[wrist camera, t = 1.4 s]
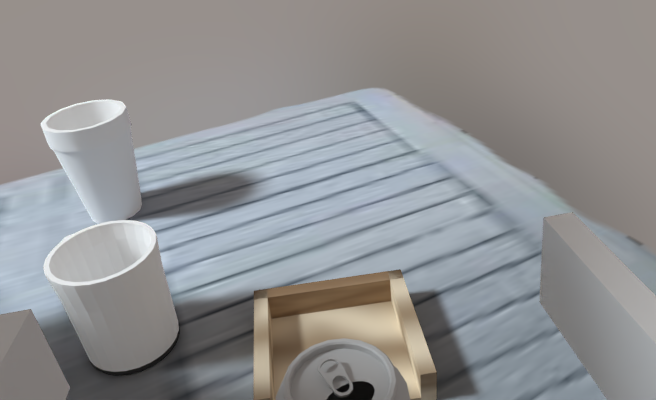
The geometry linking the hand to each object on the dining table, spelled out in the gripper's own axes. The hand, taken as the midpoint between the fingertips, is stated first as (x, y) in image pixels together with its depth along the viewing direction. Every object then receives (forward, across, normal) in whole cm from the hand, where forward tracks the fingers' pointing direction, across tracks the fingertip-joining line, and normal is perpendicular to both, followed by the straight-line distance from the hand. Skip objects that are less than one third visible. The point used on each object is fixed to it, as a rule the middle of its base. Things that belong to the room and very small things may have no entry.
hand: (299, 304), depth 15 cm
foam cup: (+54, -24, -23) cm, 63 cm away
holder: (+24, +1, -25) cm, 34 cm away
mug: (+30, -18, -24) cm, 43 cm away
